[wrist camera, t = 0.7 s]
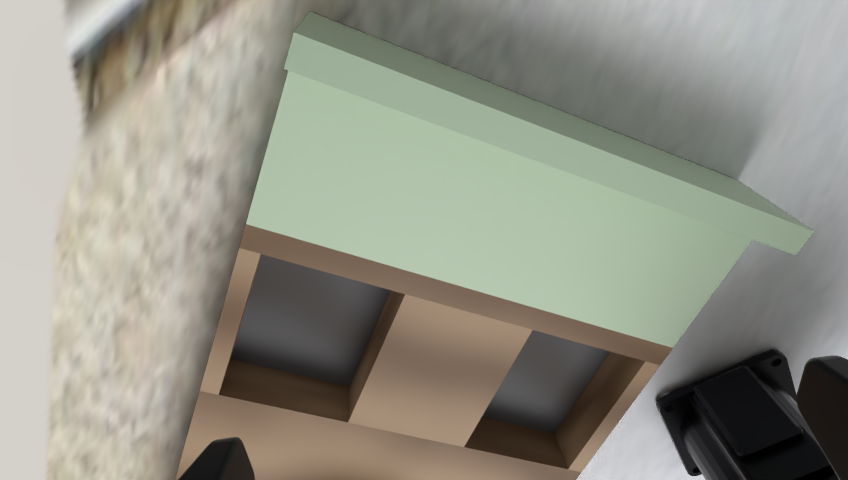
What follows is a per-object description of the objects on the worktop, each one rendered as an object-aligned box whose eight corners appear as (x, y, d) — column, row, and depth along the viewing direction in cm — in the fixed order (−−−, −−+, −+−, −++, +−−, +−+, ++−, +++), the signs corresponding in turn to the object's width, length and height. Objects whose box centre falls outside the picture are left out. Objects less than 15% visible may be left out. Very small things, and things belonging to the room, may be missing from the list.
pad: (647, 313, 26) (697, 380, 22) (258, 194, 21) (233, 252, 18) (738, 180, 23) (814, 231, 19) (309, 11, 19) (293, 32, 15)
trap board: (466, 576, 35) (472, 619, 32) (163, 530, 30) (148, 577, 28) (647, 313, 26) (672, 348, 24) (258, 194, 21) (245, 224, 19)
